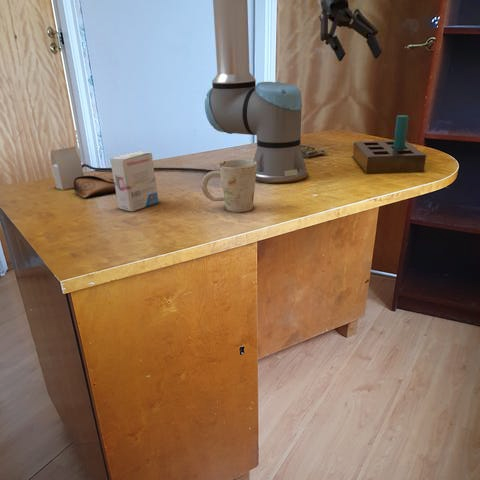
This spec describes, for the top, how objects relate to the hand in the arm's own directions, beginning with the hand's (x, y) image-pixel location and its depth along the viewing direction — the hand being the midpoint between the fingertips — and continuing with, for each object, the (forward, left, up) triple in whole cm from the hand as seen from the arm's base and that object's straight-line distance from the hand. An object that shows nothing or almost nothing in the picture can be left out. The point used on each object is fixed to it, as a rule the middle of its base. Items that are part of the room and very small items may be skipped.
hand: (360, 56), depth 146 cm
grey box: (-82, -32, -28) cm, 93 cm away
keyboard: (-18, +5, -28) cm, 34 cm away
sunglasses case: (-69, -37, -28) cm, 83 cm away
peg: (+10, -16, -28) cm, 33 cm away
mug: (-37, -56, -28) cm, 73 cm away
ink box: (-59, -52, -28) cm, 84 cm away
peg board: (+7, -16, -28) cm, 33 cm away
